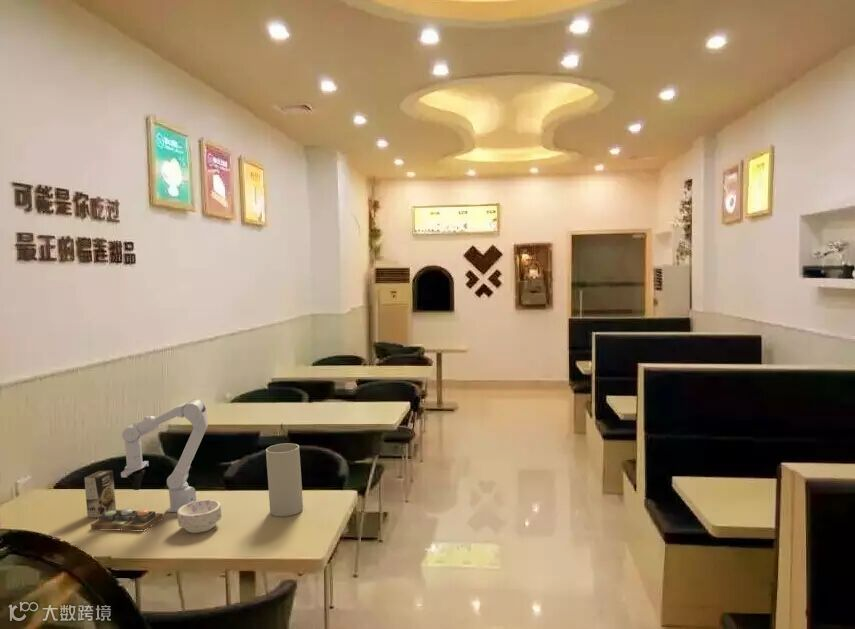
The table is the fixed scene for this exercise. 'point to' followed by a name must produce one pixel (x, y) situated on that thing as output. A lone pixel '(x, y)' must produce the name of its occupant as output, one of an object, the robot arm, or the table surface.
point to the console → (126, 521)
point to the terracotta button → (143, 513)
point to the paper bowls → (199, 515)
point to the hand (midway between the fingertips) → (136, 489)
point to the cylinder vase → (284, 479)
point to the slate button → (126, 512)
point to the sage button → (110, 513)
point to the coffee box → (99, 493)
